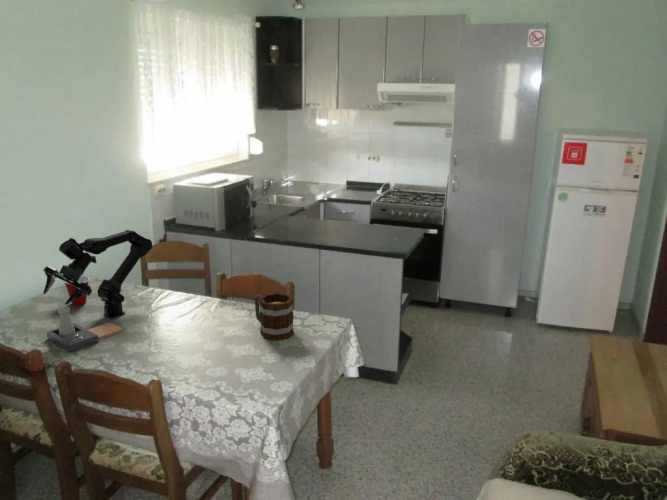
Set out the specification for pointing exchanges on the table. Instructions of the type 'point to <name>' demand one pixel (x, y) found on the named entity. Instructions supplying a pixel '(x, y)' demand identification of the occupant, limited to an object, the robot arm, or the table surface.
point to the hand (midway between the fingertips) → (54, 299)
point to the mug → (275, 315)
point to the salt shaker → (65, 321)
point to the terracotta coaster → (105, 330)
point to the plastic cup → (72, 288)
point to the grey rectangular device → (73, 338)
